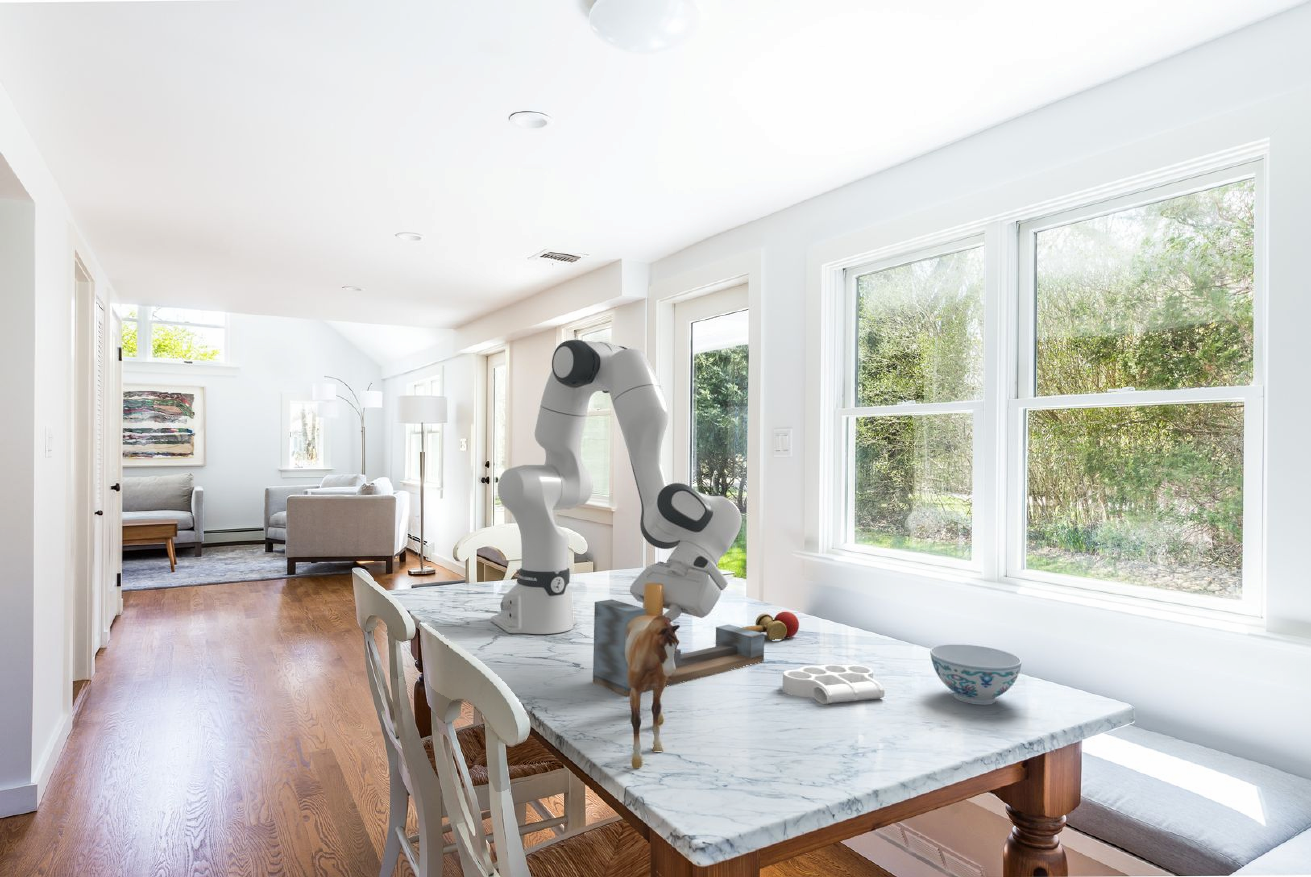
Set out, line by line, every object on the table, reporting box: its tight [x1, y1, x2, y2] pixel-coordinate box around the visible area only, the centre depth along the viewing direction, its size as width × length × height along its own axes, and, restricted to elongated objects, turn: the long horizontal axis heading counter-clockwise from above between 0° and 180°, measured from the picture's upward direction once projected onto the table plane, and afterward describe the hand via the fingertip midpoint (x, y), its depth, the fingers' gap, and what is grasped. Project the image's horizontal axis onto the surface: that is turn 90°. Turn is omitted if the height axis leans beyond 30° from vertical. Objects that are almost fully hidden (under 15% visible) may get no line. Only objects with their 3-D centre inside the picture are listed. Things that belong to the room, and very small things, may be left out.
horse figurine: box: [625, 615, 681, 769], centre depth 112 cm, size 31×8×21 cm, turn 0°
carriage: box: [644, 583, 682, 665], centre depth 141 cm, size 8×7×14 cm
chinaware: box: [929, 643, 1022, 706], centre depth 133 cm, size 15×15×8 cm
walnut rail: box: [592, 599, 765, 697], centre depth 145 cm, size 11×36×15 cm, turn 131°
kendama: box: [741, 611, 800, 641], centre depth 173 cm, size 8×6×18 cm
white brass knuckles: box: [782, 664, 885, 705], centre depth 136 cm, size 3×18×15 cm
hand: (650, 624), depth 140 cm, fingers closed on carriage, 4 cm apart
